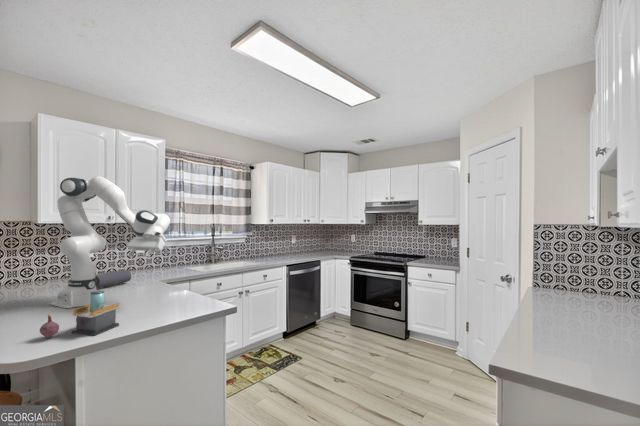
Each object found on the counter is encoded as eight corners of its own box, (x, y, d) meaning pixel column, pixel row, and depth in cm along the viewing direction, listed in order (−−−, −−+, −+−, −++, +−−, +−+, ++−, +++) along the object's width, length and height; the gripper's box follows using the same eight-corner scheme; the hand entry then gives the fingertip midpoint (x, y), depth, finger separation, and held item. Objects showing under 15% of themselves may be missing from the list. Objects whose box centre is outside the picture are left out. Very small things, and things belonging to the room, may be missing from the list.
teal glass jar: (86, 310, 132) (87, 292, 132) (96, 307, 137) (97, 290, 137) (96, 311, 131) (97, 293, 131) (106, 308, 136) (107, 290, 136)
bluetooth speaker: (122, 282, 221) (123, 268, 222) (131, 283, 218) (132, 270, 218) (90, 289, 200) (90, 274, 200) (99, 290, 197) (100, 275, 197)
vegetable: (48, 335, 126) (48, 311, 126) (63, 335, 126) (63, 311, 126) (35, 341, 120) (35, 316, 120) (51, 341, 120) (51, 316, 120)
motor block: (65, 333, 128) (65, 309, 128) (94, 322, 142) (95, 300, 142) (93, 336, 126) (93, 312, 126) (120, 324, 139) (121, 303, 140)
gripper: (133, 232, 172) (118, 251, 162) (164, 233, 168) (151, 252, 159) (139, 239, 176) (124, 258, 167) (169, 240, 173) (157, 260, 163)
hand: (138, 255), depth 163 cm, fingers open, 8 cm apart
